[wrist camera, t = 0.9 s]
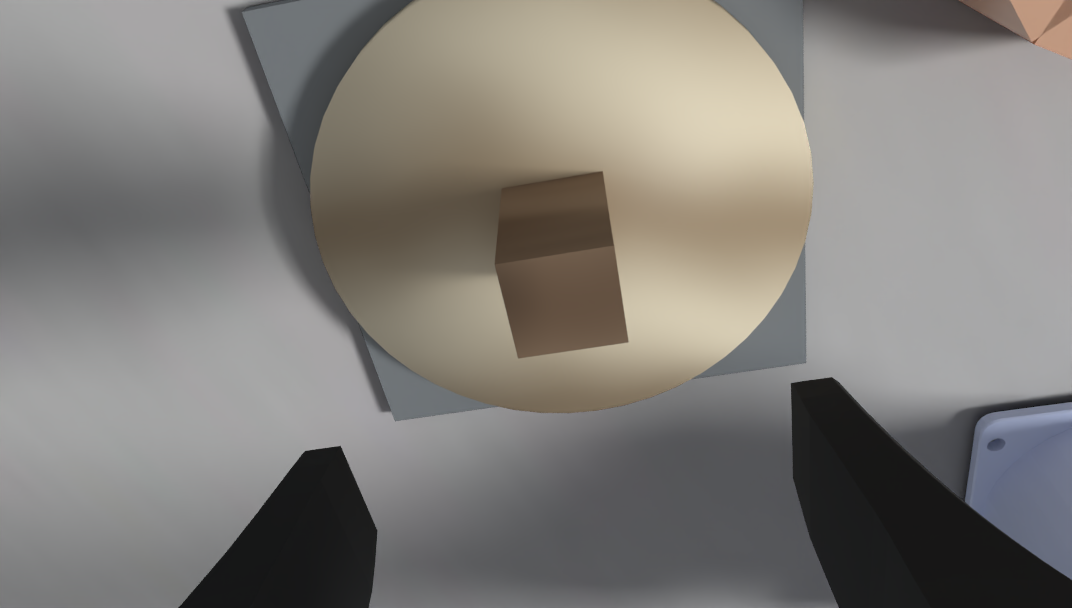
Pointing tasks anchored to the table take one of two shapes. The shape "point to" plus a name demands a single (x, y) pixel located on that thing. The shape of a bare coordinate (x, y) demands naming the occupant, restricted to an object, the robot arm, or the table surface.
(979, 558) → the robot arm
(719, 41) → the lid
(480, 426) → the table surface
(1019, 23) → the dish
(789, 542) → the table surface
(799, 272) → the mat
